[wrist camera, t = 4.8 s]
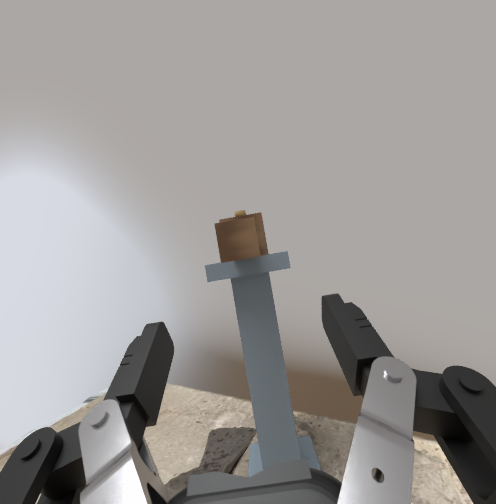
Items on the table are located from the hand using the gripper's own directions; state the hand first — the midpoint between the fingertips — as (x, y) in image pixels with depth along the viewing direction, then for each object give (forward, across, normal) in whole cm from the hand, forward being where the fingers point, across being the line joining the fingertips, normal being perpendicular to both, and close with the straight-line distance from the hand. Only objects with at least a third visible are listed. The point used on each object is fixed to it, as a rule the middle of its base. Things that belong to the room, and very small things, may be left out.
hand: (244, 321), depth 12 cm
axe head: (+8, +11, +39) cm, 41 cm away
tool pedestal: (+4, 0, +36) cm, 36 cm away
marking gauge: (+15, 0, +6) cm, 16 cm away
